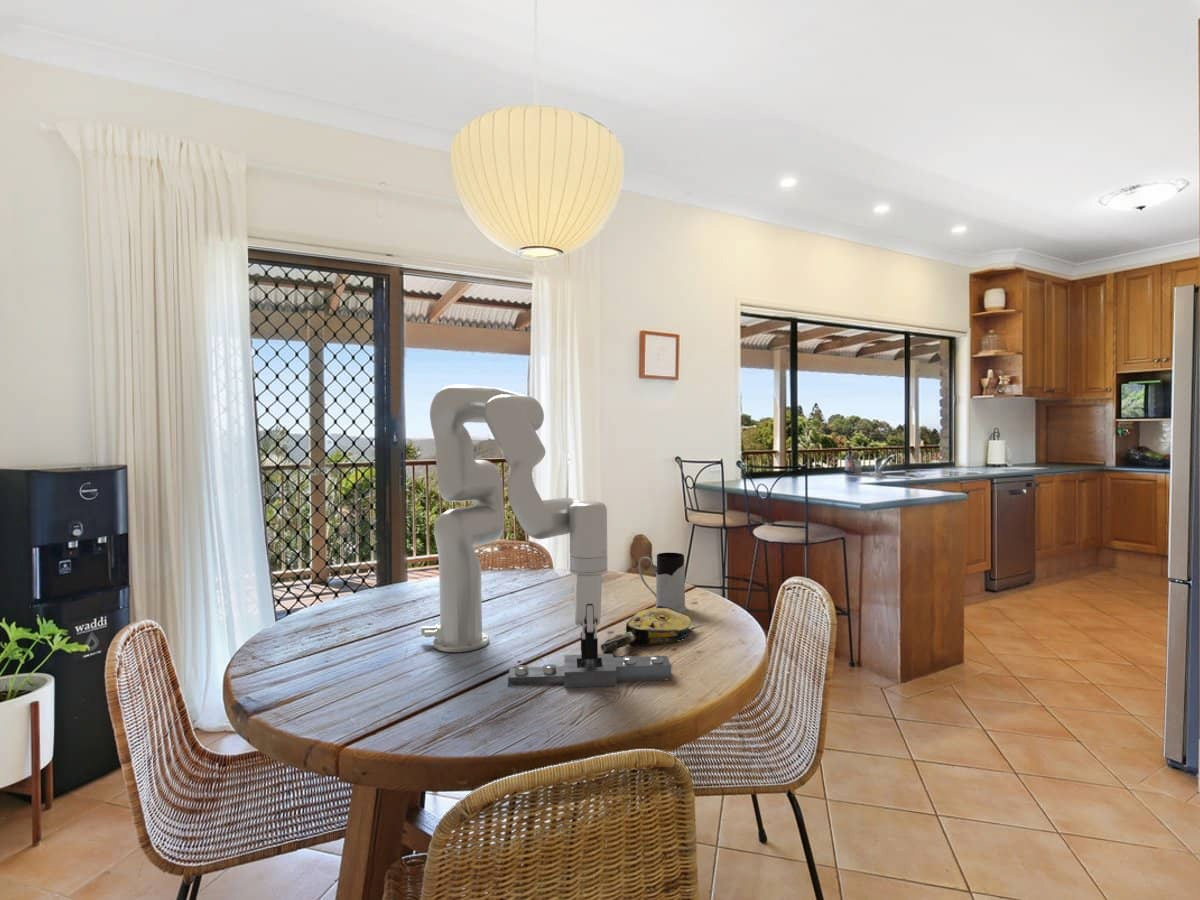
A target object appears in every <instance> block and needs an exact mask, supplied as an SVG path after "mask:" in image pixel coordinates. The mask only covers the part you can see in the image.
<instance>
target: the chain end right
mask: <svg viewBox="0 0 1200 900" xmlns="http://www.w3.org/2000/svg"><path fill="white" fill-rule="evenodd" d="M563 664H564V665H563V666H564V679H565V680H580V679H612V678H616V683H617V682H618V683H620V682H621V683H622V682H651V681H650V680H658V681H666V680H665V679H671V680H672V664H671V662H670V659H669V658H668V655H656V654H655V655H650V656H646V655H645V656H643V655H642V656H632V655H631V656H629V655H626V656H619V657H618V656H617V657H616V656H615V657H614V654H613V653H601V654H600V653H599V654H598V658H597V665H601V666H602V667H589V668H577V666H582V658H581V654H567V655H566V654H565V655H564V663H563Z"/></svg>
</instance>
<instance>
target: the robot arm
mask: <svg viewBox="0 0 1200 900" xmlns="http://www.w3.org/2000/svg"><path fill="white" fill-rule="evenodd" d="M429 410H430V411H429V421H430V425H431V430H432V434H433V438H434V446H435V461H436V462H435V463H436V476H437V489H438V493H439V496H440V497H441V498H442V500H444V501H446V502H448V503H449V502H450V503H462V502H463V503H464V502H469V501H471V503H472V505H471V506H462V507H456V508H451V509H447V510H446V511H444V512H442V513H441V514H440V515H438V516H437V518H436V520H435V522H434V525H433V534H434V540H435V543H436V544H435V545H436V549H437V556H438V573H439V574H438V578H439V582H438V583H439V584H438V585H439V624H435V626H430V625H422V626H421V635H422V636H424V638H431V637H433V638H434V639H433V648H435V649H436V650H438V651H439V652H445V653H464V652H472V651H475V650H478V649H481V648H483V647H485V646H486V645H487V644H488V643H489V641H490V637H489V634H488V633H487V632H484V631H483V616H482V615H483V613H482V612H483V607H482V606H483V603H482V602H483V601H482V599H483V598H482V597H483V596H482V566H481V562H480V559H479V557H478V555H477V553H476V551H475V549H474V548H475V547H479V546H483V545H487V544H492V543H495V542H496V541H497V540H499V539H500V538H501V536H502V535H503V533H504V530H505V506H504V492H503V491H504V489H503V480H502V476H501V473H500V471H499V469H498V467H496V465H495V464H494V463H493V462H491V461H490V460H485V459H475V456H474V445H473V440H472V437H471V435H470V433H469V431H468V430H467V428H466V427H465V426H464V425H465V423H475V424H476V423H477V424H478V423H480V424H481V423H485V424H487V426H488V428H489V430H490V432H491V434H492V436H493V438H494V440H495V442H496V444H497V446H498V448H499V450H500V452H501V454H502V455H503V458H504V460H505V462H506V463H507V466H508V468H509V469H508V474H507V483H506V484H507V485H506V488H507V492H506V493H507V498H508V502H509V506H510V508H511V510H512V512H513V513H514V516H515V518H516V521H518V523H519V525H520V527H521V529H522V530H523V531H524V532H525V533H526V535H527V536H529V537H530V538H533V539H536V540H544V539H548V538H549V539H550V538H553V537H557V536H563V535H568V534H569V535H568V536H569V572H570V573H571V574H574V584H573V585H574V586H573V587H574V589H573V591H574V597H573V599H574V601H573V602H574V623H575V625H576V626H579V625H580V624H582V625H581V631H580V653H581V654H580V655H581V658H582V659H597V658H598V653H599V651H598V650H599V649H598V647H599V644H598V628H597V629H596V626H597V627H598V625H600V623H601V612H602V574H606V573H607V572H608V509H607V508H608V507H607V506H606V504H605V503H603V502H601V501H596V500H595V501H594V500H583V501H582V500H579V499H576V498H571V497H559V498H551V499H544V500H543V499H542V498H541V496H540V494H539V492H538V490H537V488H536V485H535V483H534V478H533V471H534V467H536V466H537V465H539V464H540V463H541V462H542V461H543V459H544V458H545V455H546V449H545V446H544V445H543V443H542V441H541V439H540V437H539V435H538V433H537V431H538V430H539V429H540V428H541V427H542V425H543V423H544V421H545V412H544V409H543V406H542V405H541V403H540V402H539V401H538V400H537V399H536V398H534V397H533V396H531V395H530V396H529V395H526V394H521V393H518V392H514V391H511V390H507V389H504V388H499V387H492V386H484V385H483V386H482V385H471V384H453V385H446V386H445V387H443V388H442V389H440V390H439V391H438V392H437V393H436V394H435V396H434V397H433V399H432V402H431V404H430V409H429ZM584 620H585V621H587V623H584ZM593 620H594V623H593ZM596 623H597V624H596ZM585 627H587V629H585ZM593 627H594V628H593ZM582 632H583V638H582Z"/></svg>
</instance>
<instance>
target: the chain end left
mask: <svg viewBox="0 0 1200 900" xmlns="http://www.w3.org/2000/svg"><path fill="white" fill-rule="evenodd" d="M597 667H602V666H601V665H597ZM577 668H582V666H577ZM556 684H564V689H565V688H566V689H567V688H592V687H593V688H594V687H595V688H596V687H617V682H616V678H612V679H580V680H565V679H564V665H559V666H558V665H557V666H556V665H555V664H549V663H548V664H544V665H543V666H528V665H525V664H523V665H522V664H521V665H516V666H515V667H510V668H509V671H508V675H507V686H523V685H530V686H531V685H556Z"/></svg>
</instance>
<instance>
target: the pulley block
mask: <svg viewBox="0 0 1200 900" xmlns="http://www.w3.org/2000/svg"><path fill="white" fill-rule="evenodd" d="M655 607H656V606H655ZM655 607H654V608H647V609H643V610H640V611H638V612H636V613H635V614H634V615H633V616H632V617H631V618H629V620H628V621H627V622H626V625H625V632H623V633H622V634H619V635H617V636H614V637H612V638H609V639H607V640H605V641H603V642H602V643H601V644H600V650H601V651H602V652H603V651H604V653H607V652H611V651H613V650H616V649H620V648H623V647H625V646H627V645H630V646H633V647H645V646H653V645H656V646H657V645H665V644H664V643H668V644H674V643H673V642H676V643H679V641H678V640H682V639H684V640H686V639H687V638H686V637H688V636H690V634H691V633H690V631H693V630H695V629H697V628H700V627H703V626H704V624H701V625H698V626H695V627H692V628H690V626H691V624H692V620H691V618H690V616H687V615H685V614H683V613H680V612H679V611H676V610H674V609H672V608H669V607H664V606H657V607H656V608H655ZM685 638H686V639H685ZM688 638H689V637H688ZM682 641H683V640H682Z"/></svg>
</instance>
